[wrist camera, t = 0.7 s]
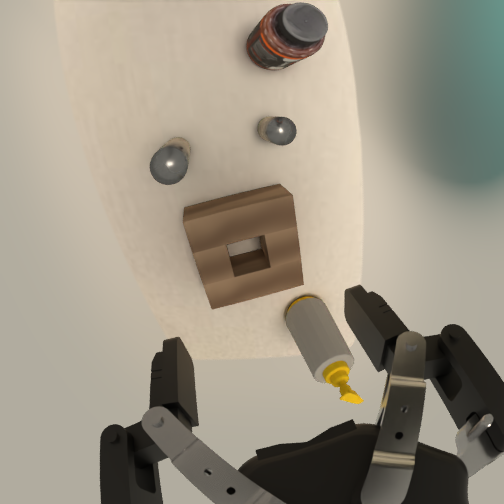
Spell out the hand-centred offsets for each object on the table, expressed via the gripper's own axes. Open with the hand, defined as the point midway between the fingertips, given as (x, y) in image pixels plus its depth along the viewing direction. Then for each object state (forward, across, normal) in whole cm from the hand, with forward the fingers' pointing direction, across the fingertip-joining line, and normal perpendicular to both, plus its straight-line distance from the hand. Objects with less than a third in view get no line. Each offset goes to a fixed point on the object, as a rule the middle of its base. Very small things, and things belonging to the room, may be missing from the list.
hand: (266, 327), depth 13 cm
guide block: (+24, -1, +8) cm, 25 cm away
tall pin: (+24, +4, -6) cm, 25 cm away
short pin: (+24, -7, -5) cm, 26 cm away
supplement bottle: (+24, -10, -15) cm, 30 cm away
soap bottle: (+23, -8, +23) cm, 33 cm away
